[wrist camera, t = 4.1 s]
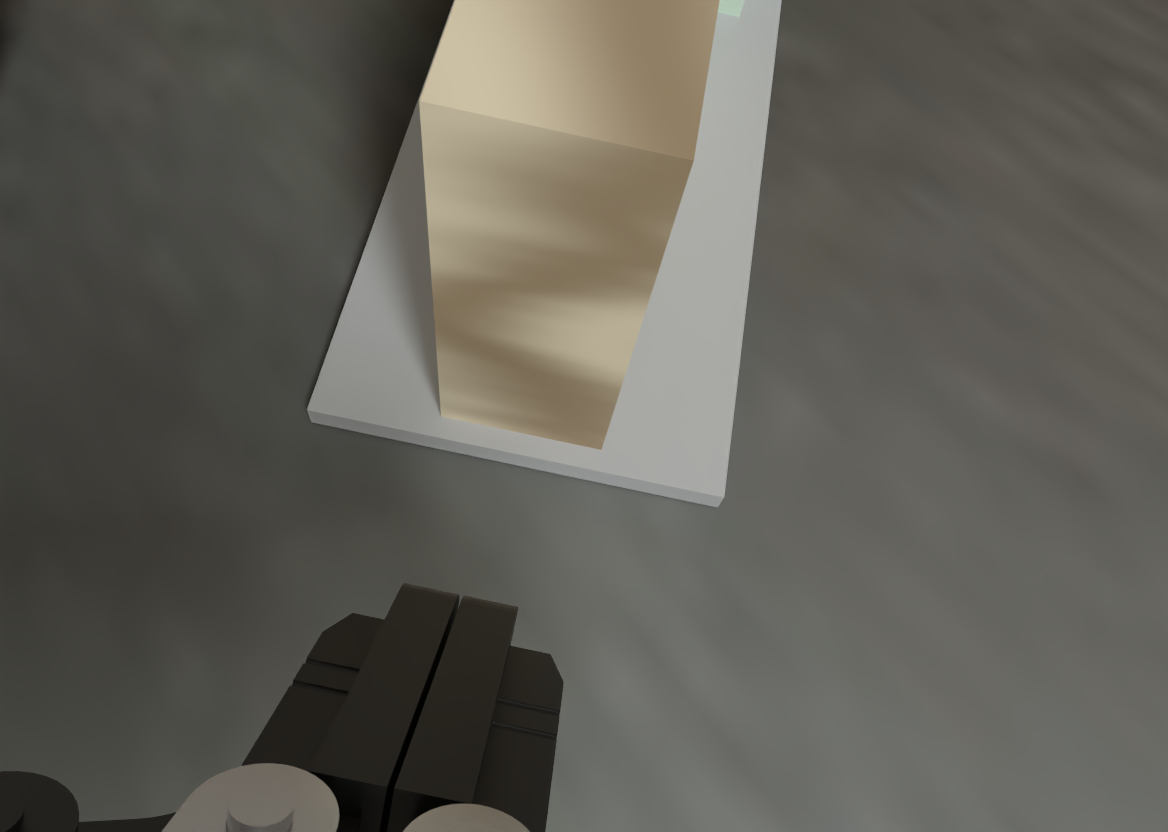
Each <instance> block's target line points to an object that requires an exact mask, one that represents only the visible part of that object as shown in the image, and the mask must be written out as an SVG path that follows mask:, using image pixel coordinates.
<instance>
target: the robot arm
mask: <svg viewBox="0 0 1168 832" xmlns="http://www.w3.org/2000/svg"><path fill="white" fill-rule="evenodd" d="M458 605H459V595H457V594H453V593H448V592H443V591H438V590H434V589H429V588H424V587H419V586H415V585H410V584H405V583H404V584H403V585H402V586H401V588H400V590H399V592H398V594H397V596H396V598H395V600H394V602H393V604H392V606H391V608H390V610H389V612H388V614H387V616H386V618H385V620H383V619H379V618H374V617H369V616H364V615H359V614H355V613H352V614H350V615H349V616H347V617H346V618H344V619H342V620H341V621H339V622H338V623H336V624H335V625H333V626H331V627H330V628H328V629H327V630H325V631H323V632H322V634H321V636H320V637H319V639H318V641H317V642H316V644H315V645H314V647H313V649H312V650H311V652H310V654H309V655H308V657H307V660H306V663H305V664H303V665H302V667H301V668H300V670H299V672H298V673H297V675H296V677H295V678H294V680H293V684H292V686H290V687H289V688H288V690H287V692H286V693H285V695H284V696H283V698H282V700H281V701H280V703H279V705H278V706H277V708H276V710H275V711H274V713H273V715H272V716H271V718H270V719H269V721H268V723H267V724H266V726H265V728H264V729H263V731H262V733H261V734H260V736H259V738H258V739H257V741H256V742H255V744H254V746H253V747H252V749H251V751H250V752H249V754H248V756H247V757H246V759H245V761H244V762H243V764H242V766H240V767H237V768H233V769H229V770H227V771H225V772H222V773H220V774H217V775H216V776H214V777H212V778H210V779H209V780H207V781H205V782H204V783H203V784H202V785H200V786H199V787H198V788H197V789H196V790H195V791H194V792H193V793H192V794H191V795H190V796H189V797H188V798H187V800H186V801H185V802H184V803H183V805H182V806H181V807H180V809H179V810H178V811H177V812H175V813H172V814H168V815H163V816H158V817H152V818H142V819H128V820H110V821H92V822H79V810H78V805H77V802H76V800H75V798H74V796H73V794H72V793H71V792H70V791H69V790H68V789H67V788H66V787H65V786H64V785H62V784H61V783H59V782H58V781H56V780H53V779H51V778H49V777H47V776H43V775H39V774H35V773H29V772H20V771H3V772H0V832H545V829H546V821H547V813H548V805H549V797H550V788H551V780H552V772H553V764H554V756H555V748H556V737H557V731H558V723H559V713H560V707H561V699H562V691H563V683H564V682H563V680H562V678H561V676H560V673H559V671H558V669H557V667H556V665H555V663H554V661H553V659H552V657H551V655H550V654H547V653H542V652H537V651H533V650H528V649H523V648H518V647H513V646H510V645H511V640H512V635H513V631H514V626H515V621H516V616H517V611H518V607H516V606H511V605H506V604H501V603H497V602H492V601H487V600H482V599H477V598H473V597H468V596H463V598H462V600H461V603H460V606H459V609H458Z"/></svg>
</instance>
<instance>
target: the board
mask: <svg viewBox="0 0 1168 832" xmlns="http://www.w3.org/2000/svg"><path fill="white" fill-rule="evenodd" d="M454 2H455V0H454V1H453V4H452V7H453V5H454ZM452 7H451V10H452ZM780 9H781V0H745V1H744V4H743V7H742V10H741V13H740V16H739V17H737V16H733V15H728V14H724V13H719V12H718V14H717V20H716V26H715V32H714V38H713V45H712V51H711V57H710V63H709V69H708V76H707V82H706V88H705V94H704V100H703V107H702V113H701V119H700V125H699V131H698V138H697V144H696V150H695V156H694V162H693V165H692V168H691V171H690V174H689V177H688V180H687V183H686V187H685V190H684V193H683V196H682V199H681V202H680V205H679V209H678V212H677V215H676V218H675V221H674V224H673V227H672V230H671V234H670V237H669V240H668V243H667V246H666V249H665V252H664V256H663V259H662V262H661V265H660V268H659V271H658V274H657V277H656V281H655V284H654V287H653V290H652V293H651V296H650V299H649V302H648V306H647V309H646V312H645V315H644V318H643V321H642V324H641V328H640V331H639V334H638V337H637V340H636V343H635V346H634V349H633V353H632V356H631V359H630V362H629V365H628V368H627V371H626V375H625V378H624V381H623V384H622V387H621V390H620V393H619V396H618V400H617V403H616V406H615V409H614V412H613V415H612V418H611V422H610V425H609V428H608V431H607V434H606V437H605V440H604V443H603V447H602V450H599V449H594V448H590V447H585V446H580V445H576V444H571V443H566V442H561V441H557V440H552V439H547V438H542V437H538V436H533V435H528V434H523V433H519V432H514V431H509V430H504V429H500V428H495V427H490V426H485V425H481V424H476V423H471V422H466V421H462V420H457V419H452V418H447V417H443V416H441V409H440V394H439V380H438V366H437V351H436V337H435V323H434V308H433V294H432V279H431V265H430V251H429V236H428V222H427V208H426V193H425V179H424V164H423V150H422V136H421V121H420V107H419V100H420V97H421V94H422V91H423V88H424V86H425V83H426V80H427V77H428V74H429V72H430V69H431V66H432V63H433V61H434V58H435V55H436V52H437V49H438V47H439V44H440V41H441V38H442V35H443V33H444V30H445V27H446V24H447V21H448V19H449V16H450V13H451V10H450V12H449V15H448V18H447V21H446V24H445V26H444V29H443V32H442V35H441V37H440V40H439V43H438V46H437V49H436V51H435V54H434V57H433V60H432V63H431V65H430V68H429V71H428V74H427V76H426V79H425V82H424V85H423V88H422V90H421V93H420V96H419V99H418V102H417V104H416V107H415V110H414V113H413V115H412V118H411V121H410V124H409V127H408V129H407V132H406V135H405V138H404V141H403V143H402V146H401V149H400V152H399V154H398V157H397V160H396V163H395V166H394V168H393V171H392V174H391V177H390V180H389V182H388V185H387V188H386V191H385V193H384V196H383V199H382V202H381V205H380V207H379V210H378V213H377V216H376V219H375V221H374V224H373V227H372V230H371V232H370V235H369V238H368V241H367V244H366V246H365V249H364V252H363V255H362V258H361V260H360V263H359V266H358V269H357V271H356V274H355V277H354V280H353V283H352V285H351V288H350V291H349V294H348V296H347V299H346V302H345V305H344V308H343V310H342V313H341V316H340V319H339V322H338V324H337V327H336V330H335V333H334V335H333V338H332V341H331V344H330V347H329V349H328V352H327V355H326V358H325V361H324V363H323V366H322V369H321V372H320V374H319V377H318V380H317V383H316V386H315V388H314V391H313V394H312V397H311V400H310V402H309V405H308V408H307V412H308V415H309V417H310V420H311V422H312V423H317V424H322V425H327V426H332V427H336V428H341V429H346V430H351V431H355V432H360V433H365V434H370V435H374V436H379V437H384V438H389V439H394V440H398V441H403V442H408V443H413V444H417V445H422V446H427V447H432V448H436V449H441V450H446V451H451V452H456V453H460V454H465V455H470V456H475V457H479V458H484V459H489V460H494V461H498V462H503V463H508V464H513V465H517V466H522V467H527V468H532V469H537V470H541V471H546V472H551V473H556V474H560V475H565V476H570V477H575V478H579V479H584V480H589V481H594V482H599V483H603V484H608V485H613V486H618V487H622V488H627V489H632V490H637V491H641V492H646V493H651V494H656V495H660V496H665V497H670V498H675V499H680V500H684V501H689V502H694V503H699V504H703V505H708V506H713V507H718V506H719V504H720V503H721V501H722V500H723V499H724V495H725V486H726V477H727V469H728V460H729V451H730V443H731V434H732V425H733V417H734V408H735V399H736V391H737V382H738V373H739V365H740V356H741V347H742V339H743V330H744V321H745V313H746V304H747V295H748V287H749V278H750V269H751V260H752V252H753V243H754V234H755V226H756V217H757V208H758V200H759V191H760V182H761V174H762V165H763V156H764V148H765V139H766V130H767V122H768V113H769V104H770V96H771V87H772V78H773V70H774V61H775V52H776V44H777V35H778V26H779V18H780Z"/></svg>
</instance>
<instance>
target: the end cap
mask: <svg viewBox="0 0 1168 832" xmlns="http://www.w3.org/2000/svg"><path fill="white" fill-rule="evenodd" d="M744 1H745V0H720V1H719V7H718V12H719V13H724V14H728V15H733V16H737V17H739V16H740V13H741V10H742V7H743V4H744Z"/></svg>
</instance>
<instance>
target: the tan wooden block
mask: <svg viewBox="0 0 1168 832" xmlns="http://www.w3.org/2000/svg"><path fill="white" fill-rule="evenodd" d="M719 1H720V0H455V2H454V5H453V7H452V10H451V13H450V16H449V19H448V21H447V24H446V27H445V30H444V33H443V35H442V38H441V41H440V44H439V47H438V49H437V52H436V55H435V58H434V61H433V63H432V66H431V69H430V72H429V74H428V77H427V80H426V83H425V86H424V88H423V91H422V94H421V97H420V100H419V107H420V121H421V136H422V150H423V164H424V179H425V193H426V208H427V222H428V236H429V251H430V265H431V279H432V294H433V308H434V323H435V337H436V351H437V366H438V380H439V394H440V409H441V416H443V417H447V418H452V419H457V420H462V421H466V422H471V423H476V424H481V425H485V426H490V427H495V428H500V429H504V430H509V431H514V432H519V433H523V434H528V435H533V436H538V437H542V438H547V439H552V440H557V441H561V442H566V443H571V444H576V445H580V446H585V447H590V448H594V449H599V450H602V447H603V443H604V440H605V437H606V434H607V431H608V428H609V425H610V422H611V418H612V415H613V412H614V409H615V406H616V403H617V400H618V396H619V393H620V390H621V387H622V384H623V381H624V378H625V375H626V371H627V368H628V365H629V362H630V359H631V356H632V353H633V349H634V346H635V343H636V340H637V337H638V334H639V331H640V328H641V324H642V321H643V318H644V315H645V312H646V309H647V306H648V302H649V299H650V296H651V293H652V290H653V287H654V284H655V281H656V277H657V274H658V271H659V268H660V265H661V262H662V259H663V256H664V252H665V249H666V246H667V243H668V240H669V237H670V234H671V230H672V227H673V224H674V221H675V218H676V215H677V212H678V209H679V205H680V202H681V199H682V196H683V193H684V190H685V187H686V183H687V180H688V177H689V174H690V171H691V168H692V165H693V162H694V156H695V150H696V144H697V138H698V131H699V125H700V119H701V113H702V107H703V100H704V94H705V88H706V82H707V76H708V69H709V63H710V57H711V51H712V45H713V38H714V32H715V26H716V20H717V14H718V7H719Z"/></svg>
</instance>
